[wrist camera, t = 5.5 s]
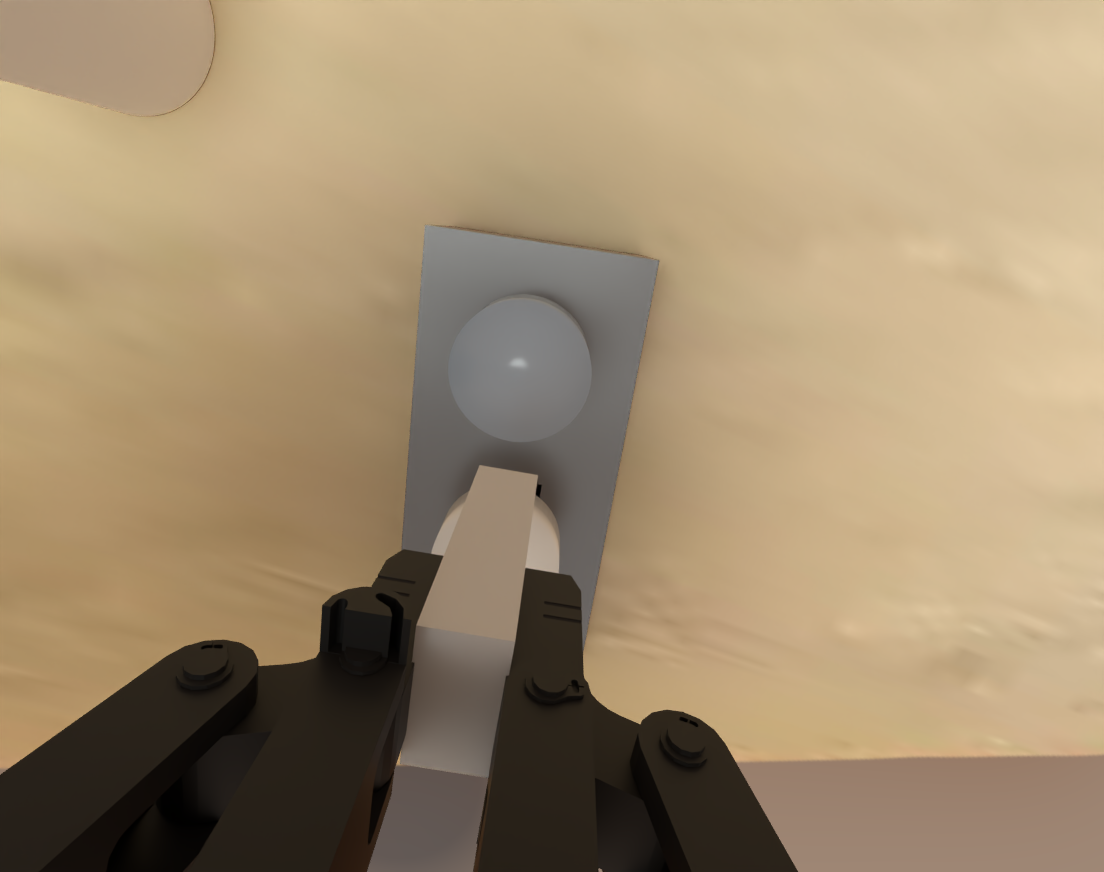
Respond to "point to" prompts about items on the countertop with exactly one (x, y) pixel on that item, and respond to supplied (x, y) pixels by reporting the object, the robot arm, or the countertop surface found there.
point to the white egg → (540, 541)
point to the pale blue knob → (520, 368)
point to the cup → (109, 50)
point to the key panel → (561, 459)
